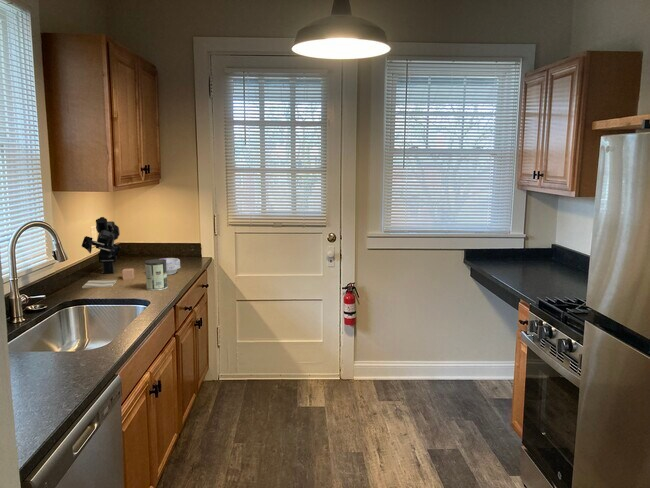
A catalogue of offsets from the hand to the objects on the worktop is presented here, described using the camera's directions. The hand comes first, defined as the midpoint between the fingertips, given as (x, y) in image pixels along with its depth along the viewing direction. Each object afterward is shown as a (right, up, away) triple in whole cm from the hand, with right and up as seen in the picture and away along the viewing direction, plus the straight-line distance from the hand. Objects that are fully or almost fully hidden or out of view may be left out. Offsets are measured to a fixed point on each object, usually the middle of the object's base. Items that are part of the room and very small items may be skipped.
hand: (99, 255), depth 270 cm
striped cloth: (+1, -15, -2) cm, 15 cm away
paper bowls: (+28, -11, +24) cm, 38 cm away
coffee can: (+33, -17, -9) cm, 38 cm away
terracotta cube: (+11, -13, +12) cm, 21 cm away
